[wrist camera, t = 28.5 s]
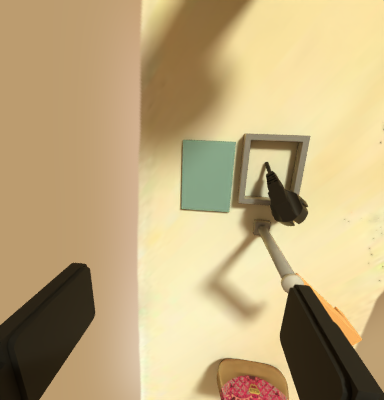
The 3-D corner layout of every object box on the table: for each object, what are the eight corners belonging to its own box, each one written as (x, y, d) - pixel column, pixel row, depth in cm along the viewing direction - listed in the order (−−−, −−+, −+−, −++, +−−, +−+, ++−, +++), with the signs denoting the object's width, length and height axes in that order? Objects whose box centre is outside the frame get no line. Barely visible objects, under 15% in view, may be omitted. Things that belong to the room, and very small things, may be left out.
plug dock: (244, 133, 38) (268, 129, 22) (305, 136, 37) (379, 132, 21) (234, 231, 44) (246, 287, 27) (286, 235, 43) (333, 295, 26)
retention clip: (344, 311, 32) (368, 342, 27) (330, 320, 33) (350, 352, 28) (281, 251, 30) (294, 272, 25) (267, 261, 31) (278, 284, 26)
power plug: (278, 152, 37) (303, 210, 31) (294, 169, 42) (318, 222, 36) (251, 168, 40) (269, 224, 34) (269, 182, 45) (287, 233, 39)
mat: (183, 139, 40) (183, 139, 39) (235, 141, 39) (235, 141, 38) (181, 207, 44) (181, 208, 43) (228, 211, 43) (229, 212, 42)
